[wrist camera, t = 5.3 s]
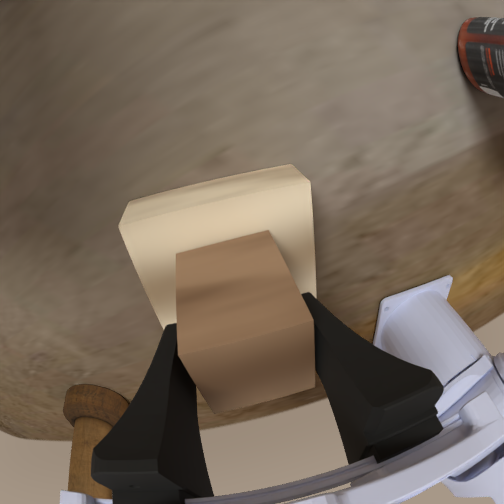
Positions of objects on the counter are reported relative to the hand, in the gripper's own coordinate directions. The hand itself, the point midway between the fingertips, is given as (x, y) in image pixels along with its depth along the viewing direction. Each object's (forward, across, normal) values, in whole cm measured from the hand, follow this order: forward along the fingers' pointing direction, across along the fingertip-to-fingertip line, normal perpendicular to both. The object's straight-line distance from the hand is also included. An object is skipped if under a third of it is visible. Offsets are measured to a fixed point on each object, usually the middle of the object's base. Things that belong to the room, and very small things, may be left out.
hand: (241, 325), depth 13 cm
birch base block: (+6, 0, 0) cm, 6 cm away
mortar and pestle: (+6, +16, +14) cm, 22 cm away
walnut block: (+3, 0, 0) cm, 3 cm away
